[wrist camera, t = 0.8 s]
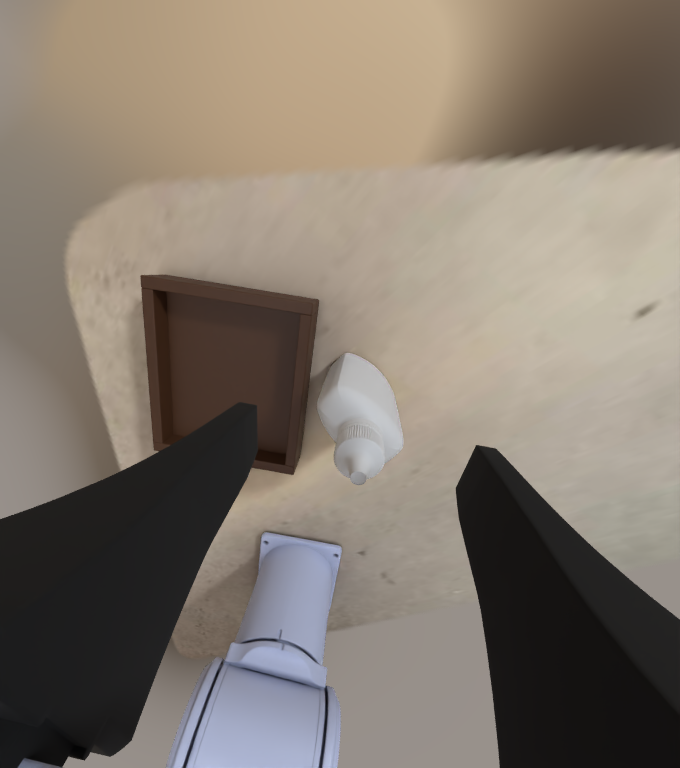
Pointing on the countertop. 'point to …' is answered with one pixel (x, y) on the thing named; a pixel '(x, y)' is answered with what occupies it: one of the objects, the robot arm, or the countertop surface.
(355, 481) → the eye dropper bottle
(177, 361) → the tray
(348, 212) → the countertop surface
